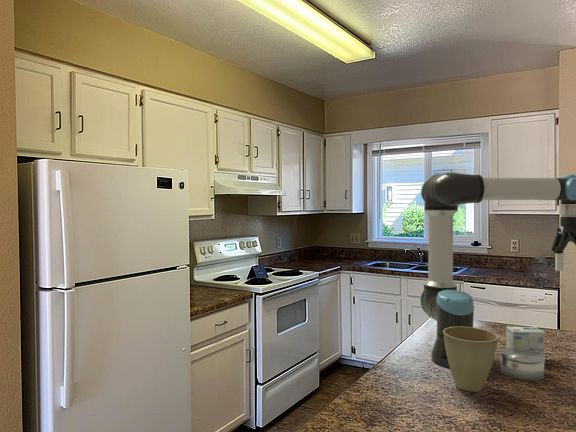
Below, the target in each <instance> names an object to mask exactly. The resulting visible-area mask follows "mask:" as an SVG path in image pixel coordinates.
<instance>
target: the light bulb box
mask: <svg viewBox="0 0 576 432" xmlns="http://www.w3.org/2000/svg"><path fill="white" fill-rule="evenodd" d="M505 329H506V330H505V335H506V336H505V337H506V339H505V342H506V343H505V344H506V345H505V348H522V349H528V350H532V351H536V352H538V353H541V354H543V355H544V356H545V357H546V331H544V330H542V329H541V328H539V327H537V326H505ZM545 362H546V360H545V361H544V364H545Z"/></svg>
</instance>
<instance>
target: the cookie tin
mask: <svg viewBox="0 0 576 432" xmlns="http://www.w3.org/2000/svg"><path fill="white" fill-rule="evenodd" d="M499 355H500V358H499V359H500V366H499V367H500V368H499V370H500V372H501V373H503V374H504V375H505V374H506V376H507V377H509V378H513V377H514V379H517V378H518V380H524V381H539V380H543V379H544V378H545V363H544V361H545V362H546V355H545V356H544V355H543V354H541V353H538V352H536V351H532V350H528V349H522V348H506V347H505V348H501V349H500V350H499Z"/></svg>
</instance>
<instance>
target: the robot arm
mask: <svg viewBox="0 0 576 432" xmlns="http://www.w3.org/2000/svg"><path fill="white" fill-rule="evenodd" d="M420 194H421V199H422V200H423V201H424V212H425V213H426V214H427V215H428V260H427V261H428V271H427V272H428V275H427V277H428V278H427V280H425V281H424V283H423V290H422V292H421V294H420V297H419V302H420V303H419V304H420V306H421V309H422V310H423V312H424V313H425V314H426V315H427V316H428V317H429V318H430V319H432V320H434V321H436V339H435V341H434V344H433V347H432V350H431V361H432V362H433V363H435V364H436V365H438V366H442V367H444V368H445V367H446V368H449V369H450V366H449V363H448V358H447V354H446V349H445V342H444V334H443V330H444V329H446V328H449V327H473V328H474V313H475V312H474V311H475V305H474V298H473V296H471V294H469V293H467V292H465V291H460V290H458V285H457V283H456V282H455V281H454V280H453V278H454V277H453V269H454V268H453V267H454V265H453V264H454V215H456V213H457V212H459V211H458V210H459V206H461V205H466V204H481V202H482V201H532V200H533V201H560V213H559V215H561V217H560V218H559V219H560V220H559V221H560V224H559V225H560V227H561V228H560V227H558V228H557V230H556V235H555V236H554V241H553V243H552V246H551V249H550V250H551V251H552V252H554V254H555V256H554V257H555V261H554V262H555V264H554V265H555V267H554V268H555V269H554V270H555V271H564V260H565V259H564V258H565V257H564V256H565V253H564V251H565V248H566V247H567V246H568V245H569V242H572V243H573V244H574V245H575V246H576V173H575V174H573V173H571V174H562V175H561V177H483V176H482V174H469V173H468V174H466V173H459V172H458V173H457V172H446V173H445V172H444V173H437V174H433V175H432V176H430V177H428V178H427V179H425V181H424V182H423V183H422V185H421V189H420Z"/></svg>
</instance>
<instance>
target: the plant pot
mask: <svg viewBox="0 0 576 432" xmlns="http://www.w3.org/2000/svg"><path fill="white" fill-rule="evenodd" d="M443 334H444V342H445V349H446V354H447V358H448V363H449V366H450V368H449V369H450V373H451V376H452V379H453V382H454V384H455V387H456V388H458V389H459V390H462V391H465V392H472V393H474V392H475V393H477V392H480V391H482V390H483V388H484V387H485V383H486V381H487V379H488V376H489V374H490V371H491V369H492V365H493V363H494V359H495V356H496V350H497V344H498V340H499V336H498V335H497V334H496V333H494V332H492V331H490V330H486V329H483V328H480V327H474V326H473V327H449V328H446V329H444V330H443Z"/></svg>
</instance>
